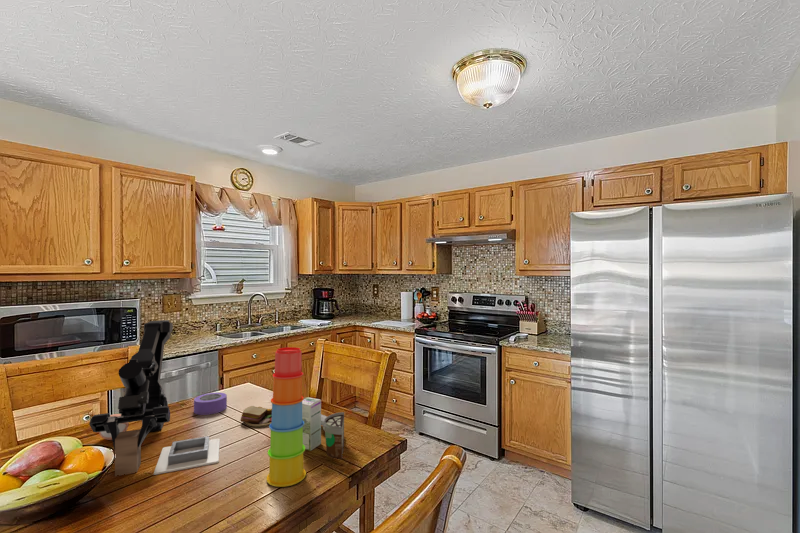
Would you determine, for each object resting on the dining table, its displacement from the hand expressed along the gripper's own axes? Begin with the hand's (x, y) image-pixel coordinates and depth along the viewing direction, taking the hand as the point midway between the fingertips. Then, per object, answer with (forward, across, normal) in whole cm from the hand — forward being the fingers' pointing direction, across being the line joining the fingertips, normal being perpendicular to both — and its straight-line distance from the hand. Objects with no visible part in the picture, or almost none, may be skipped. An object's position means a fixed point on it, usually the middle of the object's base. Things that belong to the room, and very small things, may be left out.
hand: (127, 448), depth 105 cm
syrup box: (+8, +49, +2) cm, 50 cm away
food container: (+13, +55, -3) cm, 57 cm away
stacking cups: (+19, +40, -10) cm, 46 cm away
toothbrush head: (0, +55, +10) cm, 56 cm away
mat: (+2, +15, +7) cm, 17 cm away
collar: (+2, +15, +7) cm, 17 cm away
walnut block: (+4, 0, +6) cm, 7 cm away
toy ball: (-14, -9, +24) cm, 29 cm away
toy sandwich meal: (-10, +36, +20) cm, 43 cm away
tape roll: (-25, +19, +35) cm, 47 cm away
